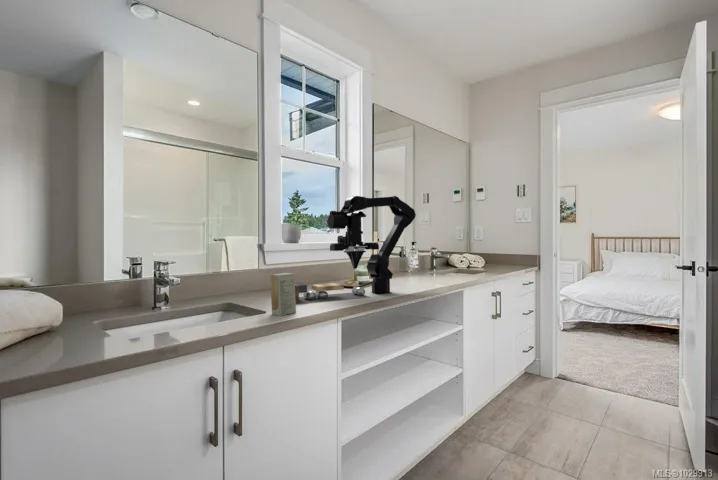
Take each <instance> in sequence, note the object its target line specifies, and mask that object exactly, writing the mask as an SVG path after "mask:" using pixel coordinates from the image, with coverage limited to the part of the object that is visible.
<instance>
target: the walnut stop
mask: <svg viewBox="0 0 718 480" xmlns="http://www.w3.org/2000/svg"><path fill="white" fill-rule="evenodd" d="M307 290H308V284H306V283H302V282H300V281H298V282H296V281H295V299H296V303H299V297H300V294H304V292H307Z"/></svg>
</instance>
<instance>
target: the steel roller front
mask: <svg viewBox="0 0 718 480" xmlns="http://www.w3.org/2000/svg"><path fill="white" fill-rule="evenodd" d="M314 293H315V294H316V296H317V297H319V298H321V299H327V297H328V294H329V293H328V291H316V290H315V291H314Z"/></svg>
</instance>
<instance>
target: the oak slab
mask: <svg viewBox="0 0 718 480" xmlns="http://www.w3.org/2000/svg"><path fill="white" fill-rule="evenodd" d="M311 290H314V291H315V292H316V291H326V292H329V291H339V290H345V285H344V284H341V283H335V282H332V283H320V284H319V283H318V284H311Z"/></svg>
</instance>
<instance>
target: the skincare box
mask: <svg viewBox="0 0 718 480" xmlns="http://www.w3.org/2000/svg"><path fill="white" fill-rule="evenodd" d="M295 277H296V276H295V273H292V272H283V273H276V274H270V295H271V299H270V300H271V301H270V302H271V314H272V315H275V316H277V317H281V316H285V315H290V314H296V313H297V305H296V299H295V283H296V278H295Z"/></svg>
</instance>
